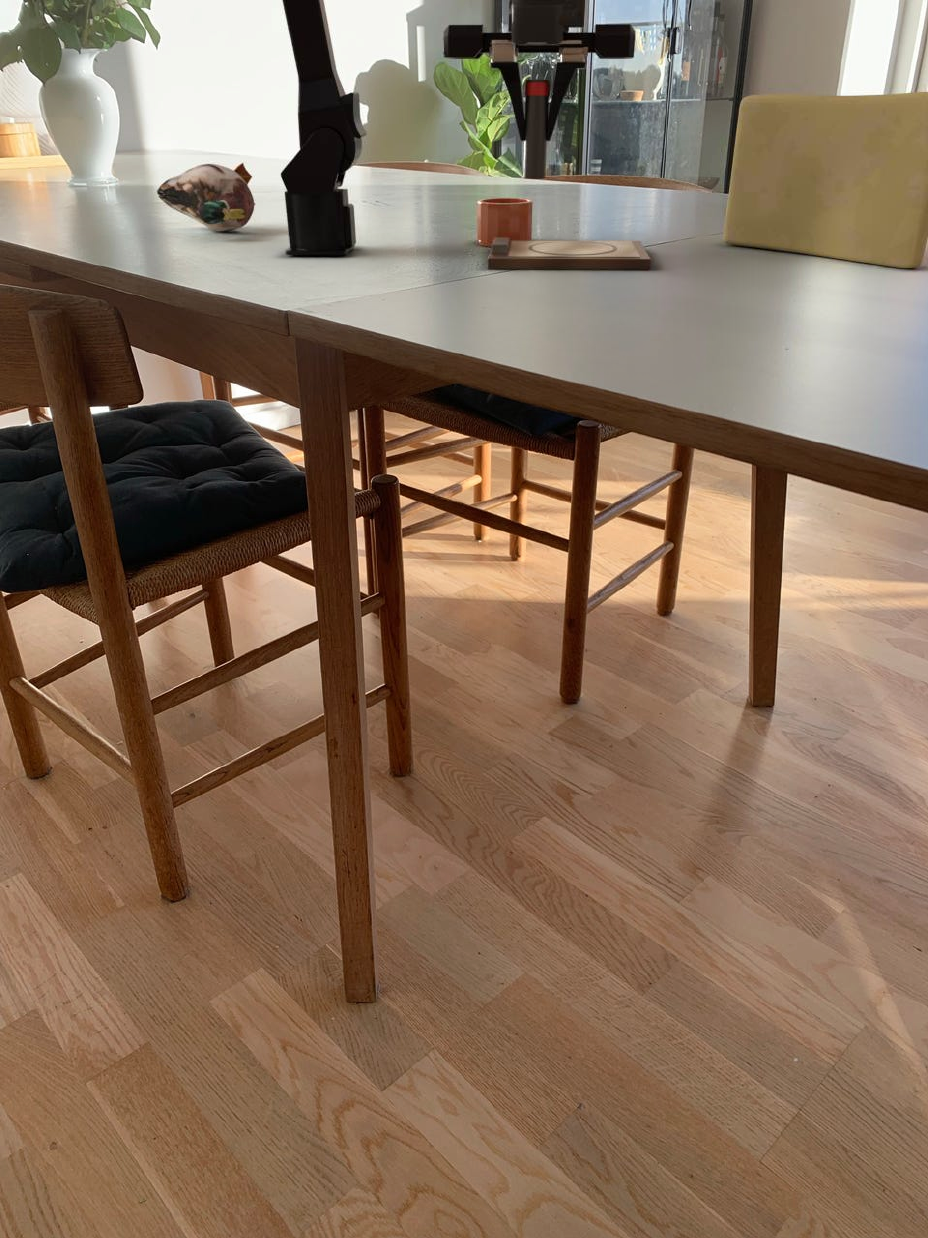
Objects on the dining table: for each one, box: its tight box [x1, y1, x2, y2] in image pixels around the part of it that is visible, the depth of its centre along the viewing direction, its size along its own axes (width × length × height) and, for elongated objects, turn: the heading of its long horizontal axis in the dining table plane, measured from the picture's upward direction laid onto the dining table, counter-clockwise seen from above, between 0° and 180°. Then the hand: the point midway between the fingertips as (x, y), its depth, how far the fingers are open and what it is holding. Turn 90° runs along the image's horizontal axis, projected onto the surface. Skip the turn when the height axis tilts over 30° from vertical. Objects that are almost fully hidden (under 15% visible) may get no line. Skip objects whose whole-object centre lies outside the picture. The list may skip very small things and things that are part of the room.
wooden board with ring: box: [487, 237, 652, 271], centre depth 95 cm, size 16×12×2 cm
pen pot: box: [476, 197, 534, 248], centre depth 104 cm, size 6×6×4 cm
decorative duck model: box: [156, 162, 256, 232], centre depth 113 cm, size 15×8×15 cm
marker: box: [522, 79, 551, 180], centre depth 95 cm, size 2×2×9 cm
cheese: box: [722, 91, 928, 269], centre depth 93 cm, size 22×10×15 cm, turn 31°
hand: (535, 140), depth 95 cm, fingers closed on marker, 2 cm apart
